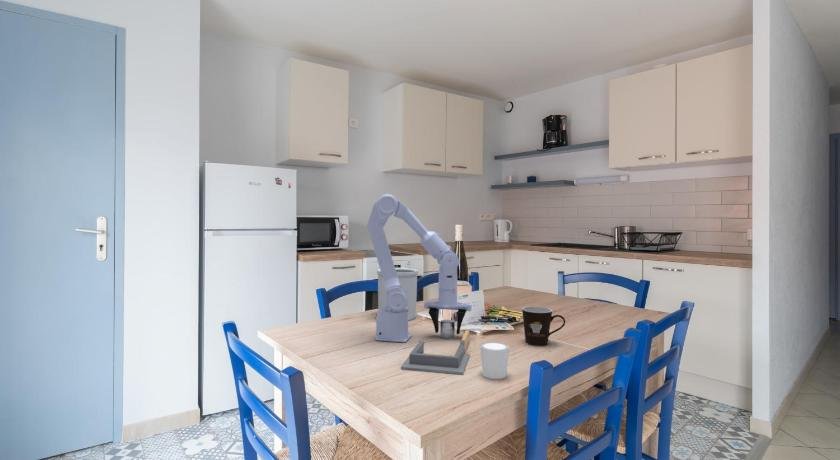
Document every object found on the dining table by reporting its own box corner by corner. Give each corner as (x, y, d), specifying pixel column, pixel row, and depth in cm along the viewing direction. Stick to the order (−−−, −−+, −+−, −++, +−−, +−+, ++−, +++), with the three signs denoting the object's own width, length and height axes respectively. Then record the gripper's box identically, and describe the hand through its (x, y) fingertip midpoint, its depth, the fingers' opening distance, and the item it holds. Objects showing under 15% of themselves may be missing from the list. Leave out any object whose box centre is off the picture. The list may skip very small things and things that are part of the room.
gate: (464, 354, 118) (464, 341, 118) (459, 354, 119) (460, 340, 119) (469, 341, 130) (469, 329, 130) (465, 341, 131) (465, 329, 130)
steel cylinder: (439, 338, 134) (439, 322, 133) (441, 334, 138) (441, 319, 138) (453, 339, 133) (453, 323, 132) (455, 335, 137) (455, 320, 137)
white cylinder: (491, 382, 100) (491, 352, 99) (474, 372, 106) (474, 343, 106) (515, 377, 103) (515, 347, 103) (497, 367, 109) (497, 340, 109)
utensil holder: (394, 310, 171) (394, 266, 170) (425, 316, 162) (425, 269, 162) (368, 318, 159) (368, 270, 158) (401, 324, 150) (401, 273, 150)
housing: (400, 369, 108) (400, 357, 108) (414, 351, 121) (414, 340, 121) (462, 374, 104) (463, 362, 104) (469, 356, 118) (469, 345, 118)
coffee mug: (516, 342, 130) (516, 309, 129) (530, 336, 136) (531, 305, 136) (552, 351, 122) (553, 316, 121) (566, 344, 128) (567, 311, 128)
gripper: (422, 290, 132) (421, 334, 133) (469, 292, 129) (469, 337, 130) (426, 286, 139) (426, 328, 140) (472, 288, 136) (472, 331, 137)
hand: (447, 332), depth 135 cm, fingers open, 6 cm apart
